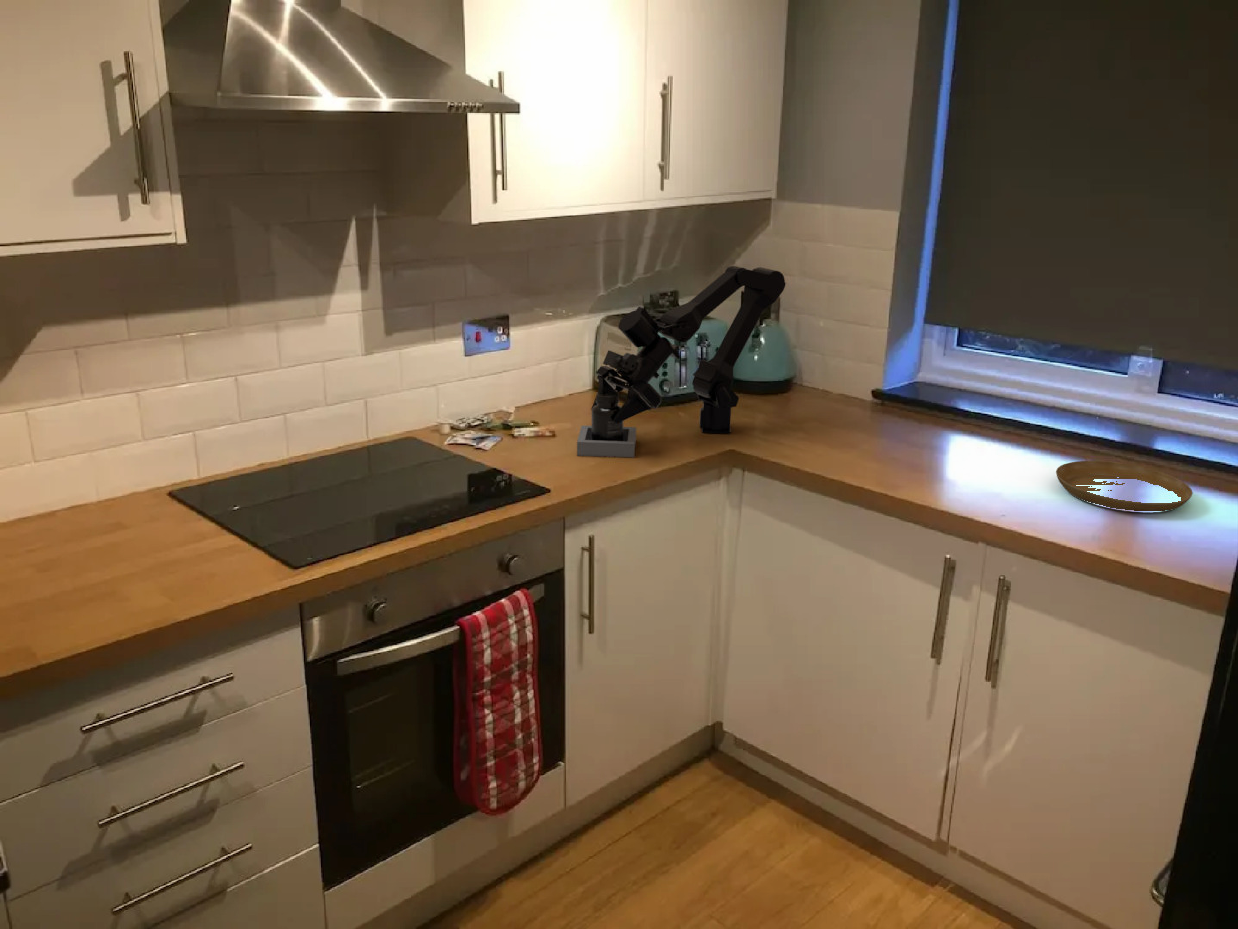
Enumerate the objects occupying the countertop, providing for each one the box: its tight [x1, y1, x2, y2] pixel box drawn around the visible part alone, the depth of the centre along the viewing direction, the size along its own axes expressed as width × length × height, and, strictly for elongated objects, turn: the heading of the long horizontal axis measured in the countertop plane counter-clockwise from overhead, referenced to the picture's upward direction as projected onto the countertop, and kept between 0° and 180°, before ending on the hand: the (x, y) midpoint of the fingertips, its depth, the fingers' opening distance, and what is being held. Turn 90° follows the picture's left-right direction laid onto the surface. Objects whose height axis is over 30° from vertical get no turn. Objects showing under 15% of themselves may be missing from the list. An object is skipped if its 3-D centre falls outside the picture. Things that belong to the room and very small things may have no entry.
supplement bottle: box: [591, 391, 624, 441], centre depth 223 cm, size 7×7×12 cm
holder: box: [576, 425, 637, 458], centre depth 225 cm, size 12×12×3 cm
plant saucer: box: [1055, 460, 1194, 511], centre depth 203 cm, size 24×24×3 cm
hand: (603, 416), depth 223 cm, fingers open, 9 cm apart
